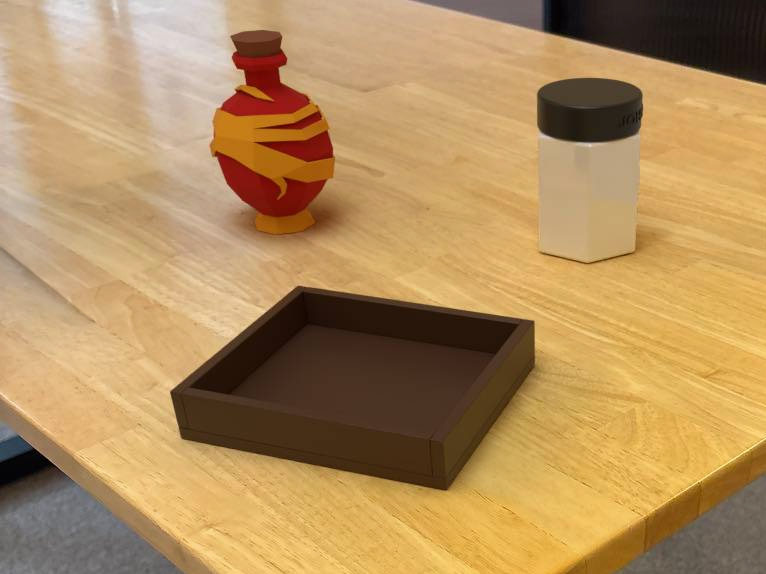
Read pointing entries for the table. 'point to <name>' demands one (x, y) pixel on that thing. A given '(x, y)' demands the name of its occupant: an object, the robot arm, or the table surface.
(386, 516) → the table surface
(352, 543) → the table surface
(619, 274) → the table surface
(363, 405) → the shallow brown tray
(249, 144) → the potion bottle
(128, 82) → the table surface
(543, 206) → the jar
